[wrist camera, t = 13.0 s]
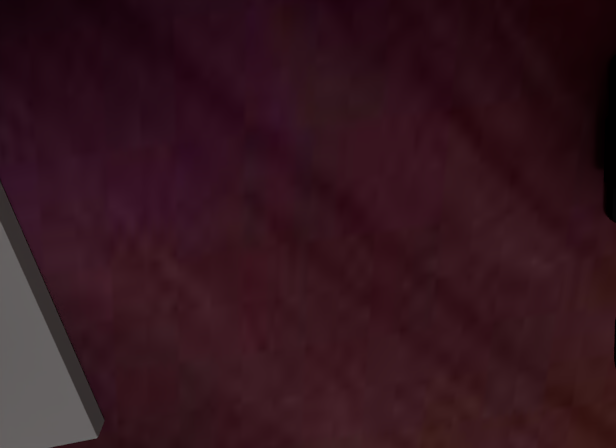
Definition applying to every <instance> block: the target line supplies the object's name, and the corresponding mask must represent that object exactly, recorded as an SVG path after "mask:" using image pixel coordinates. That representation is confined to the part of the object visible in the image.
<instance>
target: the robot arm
mask: <svg viewBox="0 0 616 448" xmlns="http://www.w3.org/2000/svg"><path fill="white" fill-rule="evenodd" d="M604 181H605V182H606V183H607V207H606V212H607V216H608V218H609V219H610V220H612V221H613V222H615V223H616V55H615V56H614V57H613V59H612V61H611V64H610V82H609V114H608V115H607V117H606V119H605V154H604ZM614 362H615V367H616V319H615V343H614Z"/></svg>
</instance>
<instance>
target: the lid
mask: <svg viewBox="0 0 616 448" xmlns="http://www.w3.org/2000/svg"><path fill="white" fill-rule="evenodd" d="M103 423H104V419H103V416H102V414H101V412H100V409H99V407H98V405H97V402H96V400H95V398H94V396H93V393H92V391H91V389H90V386H89V384H88V382H87V379H86V377H85V375H84V373H83V370H82V368H81V366H80V363H79V361H78V359H77V357H76V354H75V352H74V350H73V347H72V345H71V343H70V340H69V338H68V336H67V334H66V331H65V329H64V327H63V324H62V322H61V320H60V318H59V315H58V313H57V311H56V308H55V306H54V304H53V301H52V299H51V297H50V295H49V292H48V290H47V288H46V285H45V283H44V281H43V278H42V276H41V274H40V272H39V269H38V267H37V265H36V262H35V260H34V258H33V256H32V253H31V251H30V249H29V246H28V244H27V242H26V239H25V237H24V235H23V233H22V230H21V228H20V226H19V223H18V221H17V219H16V216H15V214H14V212H13V210H12V207H11V205H10V203H9V200H8V198H7V196H6V194H5V191H4V189H3V187H2V184H1V182H0V448H49V447H54V446H59V445H65V444H70V443H75V442H80V441H85V440H90V439H95V438H98V436H99V433H100V431H101V428H102V426H103Z"/></svg>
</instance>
